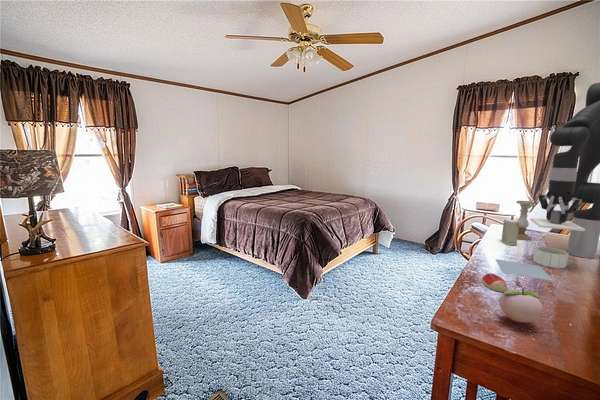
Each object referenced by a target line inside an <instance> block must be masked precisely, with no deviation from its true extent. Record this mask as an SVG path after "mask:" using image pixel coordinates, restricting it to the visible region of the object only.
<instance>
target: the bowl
mask: <svg viewBox="0 0 600 400" xmlns="http://www.w3.org/2000/svg"><path fill="white" fill-rule="evenodd" d="M569 255H570V254H569V253H567V250H566V251H565V250H562V249H559V248H555V247H549V246H535V247H534V252H533V258H532V260H533V262H534V263H537V265H538V264H539V265H540V266H545V267H550V268H555V269H556V268H557V269H566V268H567V264H568V260H569Z"/></svg>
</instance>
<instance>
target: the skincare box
mask: <svg viewBox="0 0 600 400" xmlns="http://www.w3.org/2000/svg"><path fill="white" fill-rule="evenodd" d="M519 223H520V222H517V220H514V219H508V218H507V219H503V224H502V233H501V241H500V242H501V243H502V244H505V245H507V246H515V247H516V246H518V245H517V244H518V239H517V238H518V231H519Z"/></svg>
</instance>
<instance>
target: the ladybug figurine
mask: <svg viewBox="0 0 600 400" xmlns="http://www.w3.org/2000/svg"><path fill="white" fill-rule="evenodd" d="M481 282H482V283H483V285H484V286H485V287H487V288H488V289H490V290H493V291H496V292H497V293H498V292H499V293H504V292H505V291H508V290H509V287H508V284H507V282H506V281H505V280H504V279H503V278H502V277H500V276H499V275H497V274H496V273H495V274H494V273H491V272H490V273H486V274H485V275H483V276H482V278H481Z"/></svg>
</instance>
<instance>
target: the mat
mask: <svg viewBox="0 0 600 400" xmlns="http://www.w3.org/2000/svg"><path fill="white" fill-rule="evenodd" d="M494 260H495V261H496V263H497V265H498V267H499V269H500V271H501V272H502V273H504V274H509V275H515V276H521V277H528V278H533V279H538V280H546V281H552V282H554V279H553V278H552V277H551V276H550V275H549V274H548V273H547V272H546V271H545V270H544V269H543V267H542V265H540V264H539V265H538V264H530V263H525V262H516V261H511V260H503V259H499V258H498V259H497V258H495V259H494Z"/></svg>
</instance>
